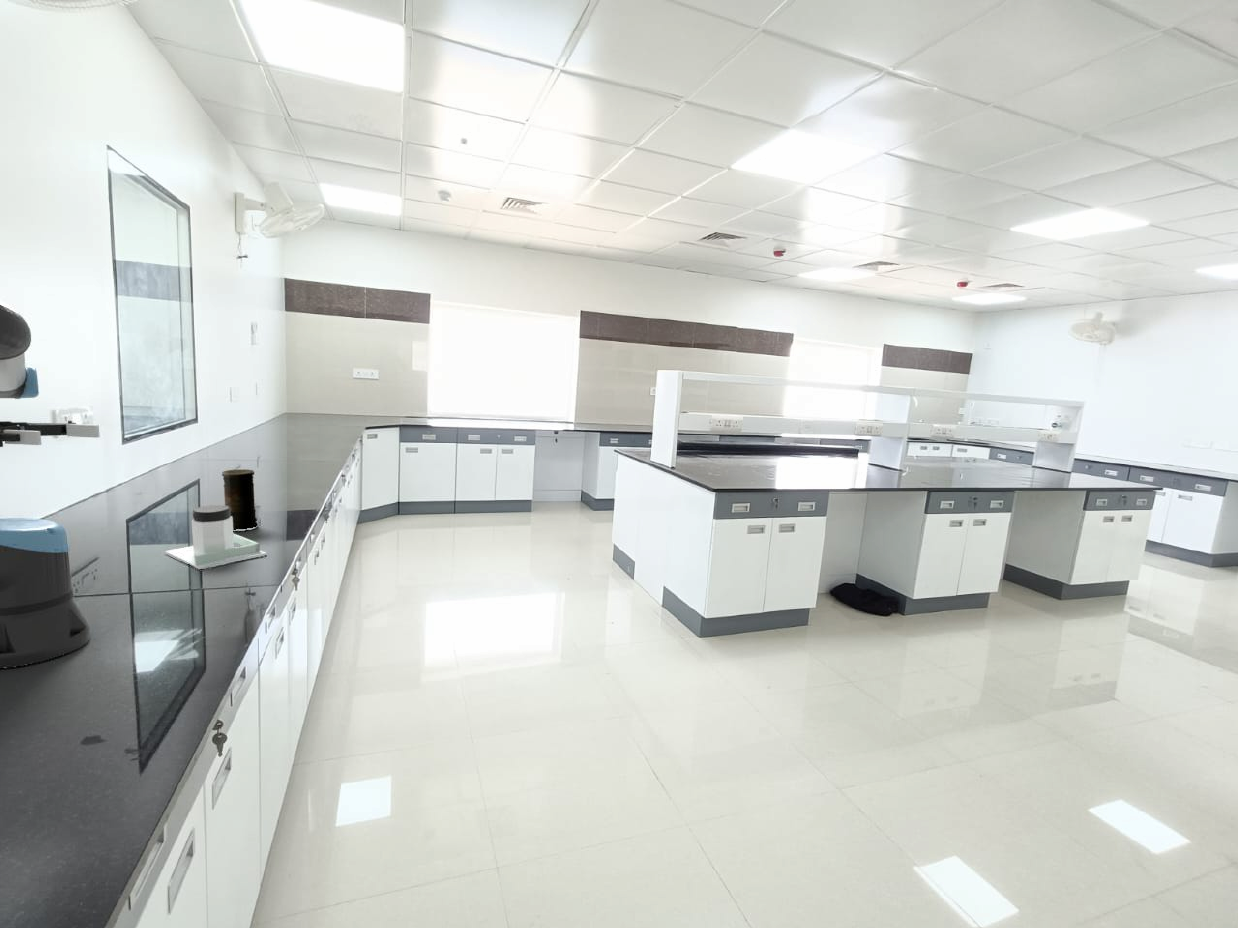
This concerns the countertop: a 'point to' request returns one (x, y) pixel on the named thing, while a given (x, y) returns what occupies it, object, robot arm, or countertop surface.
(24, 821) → the countertop surface
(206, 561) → the holder
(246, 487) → the container
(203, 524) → the jar
